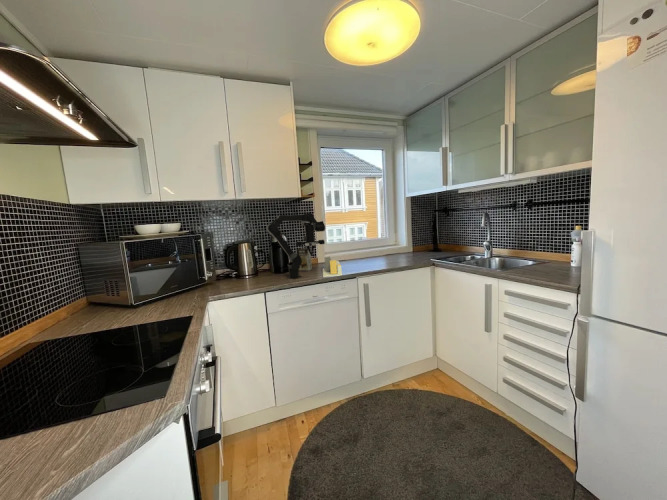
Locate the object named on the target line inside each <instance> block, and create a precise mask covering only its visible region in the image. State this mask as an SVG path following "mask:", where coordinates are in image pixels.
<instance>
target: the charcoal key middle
mask: <svg viewBox="0 0 667 500" xmlns="http://www.w3.org/2000/svg"><path fill="white" fill-rule="evenodd" d="M331 259H332V258H331V257H330V259H325V258H324V267H325V269H326V272H328V271H330V260H331Z"/></svg>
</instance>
